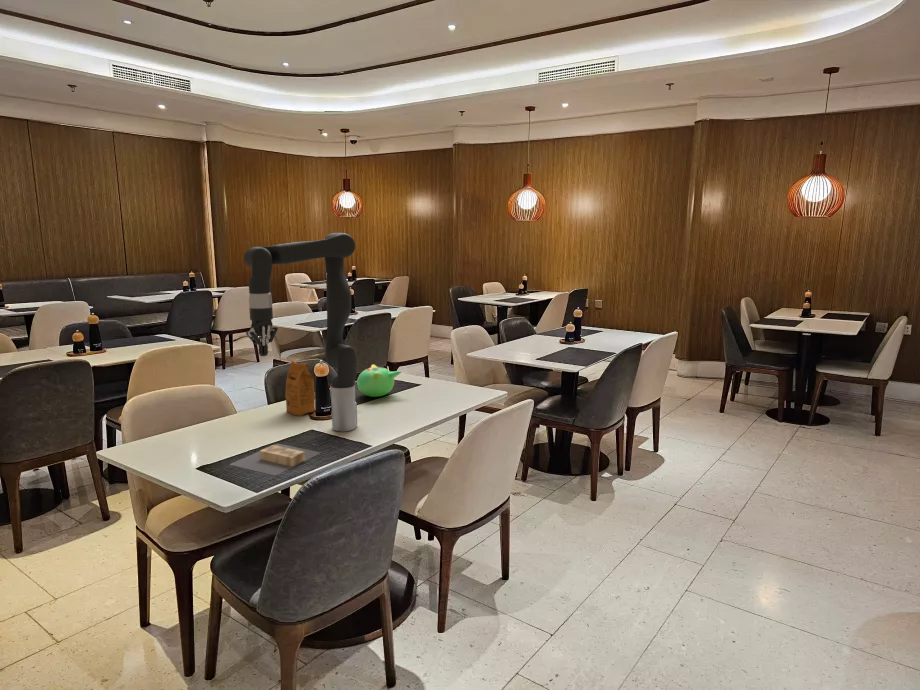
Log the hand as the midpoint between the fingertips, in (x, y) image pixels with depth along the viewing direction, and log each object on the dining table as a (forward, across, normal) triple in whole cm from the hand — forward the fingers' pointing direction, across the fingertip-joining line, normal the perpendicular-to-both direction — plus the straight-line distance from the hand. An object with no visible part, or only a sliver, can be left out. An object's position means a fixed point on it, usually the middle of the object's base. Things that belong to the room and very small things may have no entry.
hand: (263, 355), depth 200 cm
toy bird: (+33, +73, +3) cm, 80 cm away
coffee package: (+33, +37, +18) cm, 53 cm away
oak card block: (+31, -9, -8) cm, 33 cm away
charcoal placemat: (+33, -9, -12) cm, 36 cm away
